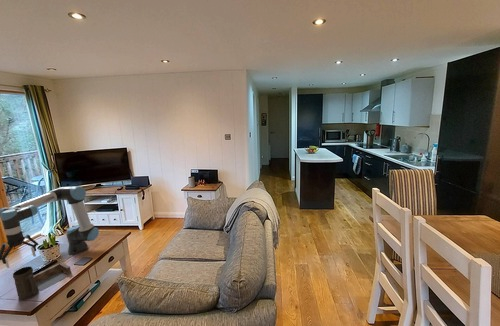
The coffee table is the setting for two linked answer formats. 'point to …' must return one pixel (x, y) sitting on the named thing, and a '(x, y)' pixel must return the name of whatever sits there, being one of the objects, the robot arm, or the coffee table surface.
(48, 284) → the pad
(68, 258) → the coffee table surface
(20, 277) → the beer stein
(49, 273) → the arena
